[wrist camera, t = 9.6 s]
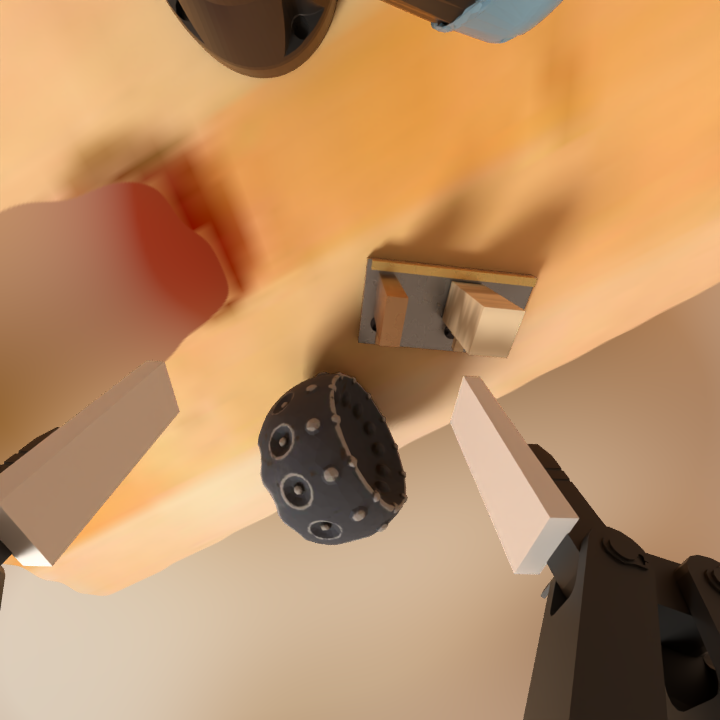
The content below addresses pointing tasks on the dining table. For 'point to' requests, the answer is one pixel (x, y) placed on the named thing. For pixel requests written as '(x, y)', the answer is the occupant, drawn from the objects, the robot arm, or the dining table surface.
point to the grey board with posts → (423, 300)
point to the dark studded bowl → (331, 461)
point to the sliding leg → (481, 320)
